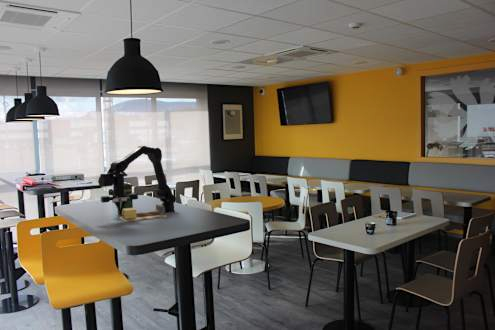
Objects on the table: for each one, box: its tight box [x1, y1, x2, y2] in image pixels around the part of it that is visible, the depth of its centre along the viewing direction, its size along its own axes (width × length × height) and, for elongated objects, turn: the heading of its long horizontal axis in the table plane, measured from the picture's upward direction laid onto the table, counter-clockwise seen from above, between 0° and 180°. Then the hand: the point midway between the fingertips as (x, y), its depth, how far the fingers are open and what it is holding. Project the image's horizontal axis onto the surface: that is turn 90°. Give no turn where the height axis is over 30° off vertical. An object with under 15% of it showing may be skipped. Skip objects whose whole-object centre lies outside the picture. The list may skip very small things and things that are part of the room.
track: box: [119, 203, 167, 223], centre depth 221 cm, size 23×12×6 cm, turn 119°
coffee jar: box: [117, 182, 134, 216], centre depth 235 cm, size 10×8×19 cm
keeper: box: [121, 207, 137, 219], centre depth 218 cm, size 6×8×4 cm
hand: (120, 213), depth 215 cm, fingers closed
